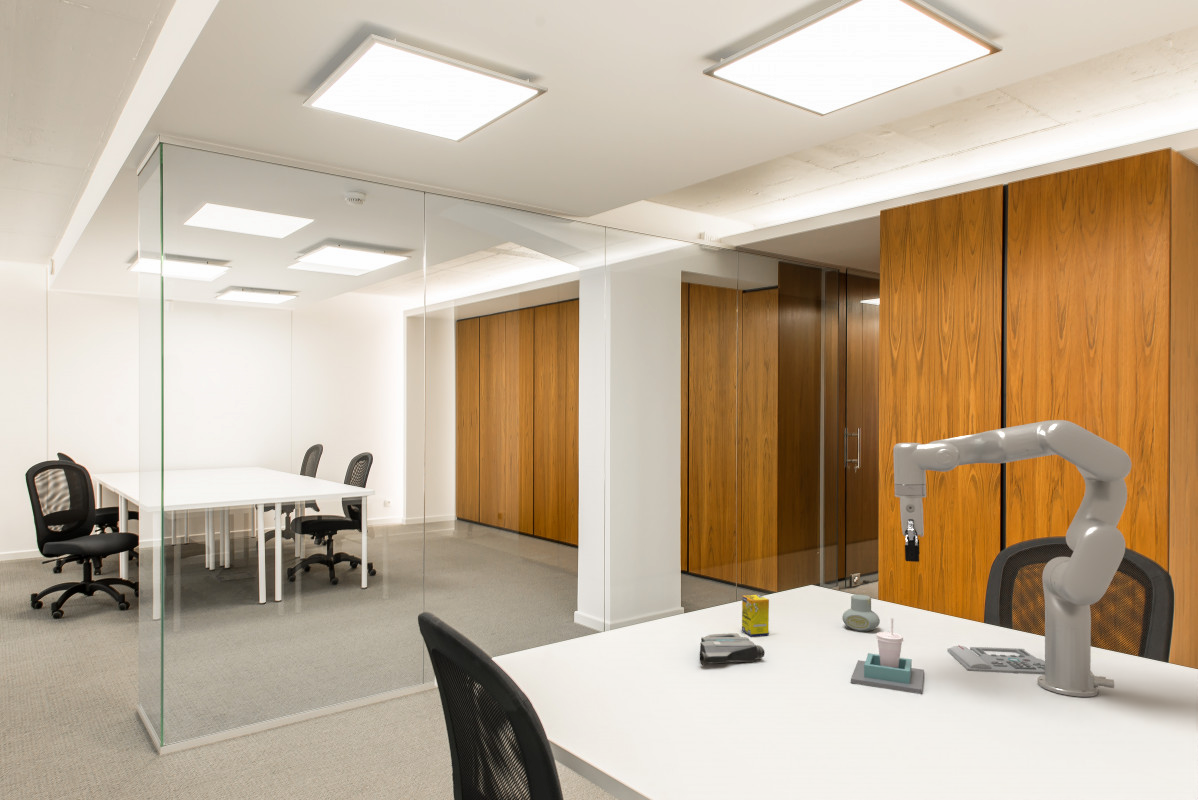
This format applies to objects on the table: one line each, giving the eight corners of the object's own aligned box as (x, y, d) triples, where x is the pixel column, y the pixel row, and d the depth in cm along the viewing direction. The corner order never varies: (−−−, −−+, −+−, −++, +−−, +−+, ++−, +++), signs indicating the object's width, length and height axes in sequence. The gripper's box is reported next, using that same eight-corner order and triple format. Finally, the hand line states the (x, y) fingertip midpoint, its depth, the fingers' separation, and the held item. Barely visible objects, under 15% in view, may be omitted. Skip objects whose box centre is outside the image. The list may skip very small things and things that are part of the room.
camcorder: (770, 662, 201) (770, 642, 202) (705, 671, 193) (705, 650, 193) (734, 645, 216) (734, 627, 216) (672, 653, 207) (672, 634, 207)
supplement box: (741, 631, 229) (741, 595, 229) (758, 630, 231) (759, 594, 231) (750, 637, 223) (751, 600, 223) (768, 635, 225) (769, 598, 225)
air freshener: (882, 628, 235) (882, 596, 235) (876, 635, 228) (876, 601, 228) (846, 623, 240) (846, 591, 241) (839, 629, 233) (839, 596, 234)
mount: (923, 673, 193) (923, 657, 193) (921, 693, 179) (921, 676, 179) (858, 663, 200) (858, 648, 200) (850, 682, 186) (850, 666, 186)
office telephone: (968, 663, 196) (941, 640, 216) (968, 674, 196) (941, 650, 216) (1062, 667, 194) (1026, 643, 214) (1062, 677, 194) (1026, 653, 214)
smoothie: (899, 680, 185) (899, 622, 185) (872, 674, 189) (872, 618, 189) (906, 673, 190) (906, 617, 190) (880, 668, 194) (880, 613, 194)
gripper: (926, 494, 185) (928, 564, 184) (926, 488, 201) (928, 553, 200) (893, 493, 188) (895, 563, 187) (895, 487, 204) (898, 551, 203)
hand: (912, 557), depth 194 cm, fingers open, 9 cm apart
